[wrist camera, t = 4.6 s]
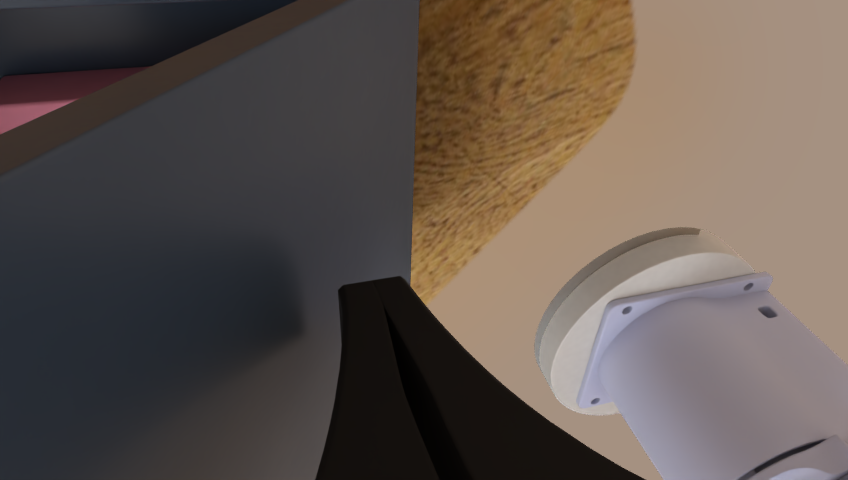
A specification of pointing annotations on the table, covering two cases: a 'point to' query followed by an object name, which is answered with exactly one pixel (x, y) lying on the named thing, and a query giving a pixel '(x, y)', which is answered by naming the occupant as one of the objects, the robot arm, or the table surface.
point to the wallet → (50, 92)
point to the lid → (204, 249)
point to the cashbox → (113, 31)
